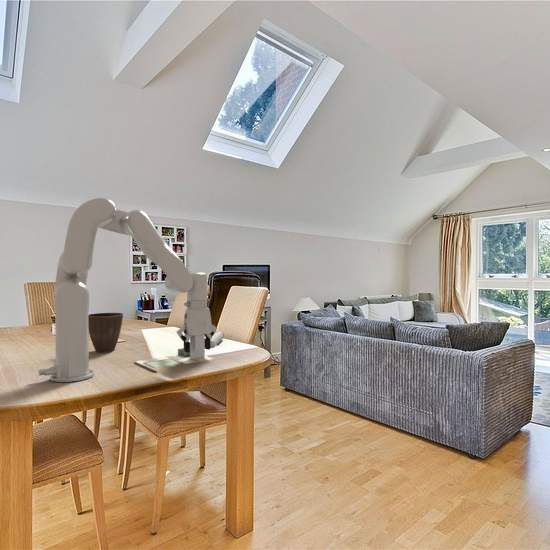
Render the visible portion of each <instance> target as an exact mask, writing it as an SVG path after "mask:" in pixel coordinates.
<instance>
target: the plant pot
mask: <svg viewBox="0 0 550 550" xmlns="http://www.w3.org/2000/svg"><path fill="white" fill-rule="evenodd" d="M123 319H124V313H122V312H99V313H98V312H97V313H91V314H89V316H88V328H89V338H90V340H91V343H92V346H93V349H94V351H95V352H96V353H99V354H100V353H101V354H103V353H105V354H106V353H111V352H114V351H115V349H116V346H117V344H118V340H119V338H120V334H121V332H122V331H121V329H122V325H123Z"/></svg>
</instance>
